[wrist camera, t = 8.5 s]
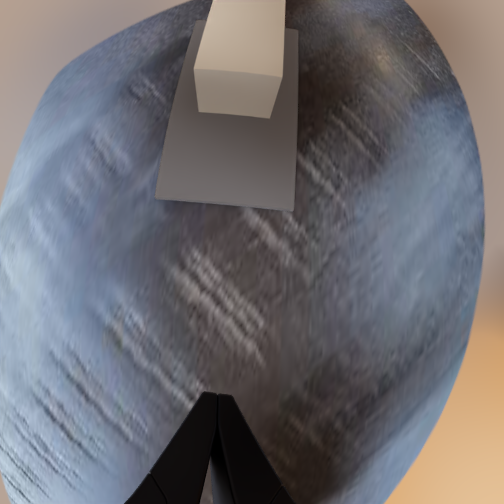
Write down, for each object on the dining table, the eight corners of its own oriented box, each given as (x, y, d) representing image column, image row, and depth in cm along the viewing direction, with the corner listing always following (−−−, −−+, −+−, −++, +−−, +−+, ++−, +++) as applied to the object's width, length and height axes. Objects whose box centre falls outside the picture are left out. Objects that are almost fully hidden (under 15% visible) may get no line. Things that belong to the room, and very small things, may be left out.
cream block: (282, 77, 15) (285, -11, 16) (193, 68, 14) (219, -18, 15) (269, 118, 20) (275, 29, 21) (198, 112, 19) (218, 23, 20)
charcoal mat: (292, 211, 20) (293, 210, 19) (156, 199, 19) (154, 197, 18) (297, 33, 21) (298, 30, 21) (196, 23, 21) (196, 19, 20)
